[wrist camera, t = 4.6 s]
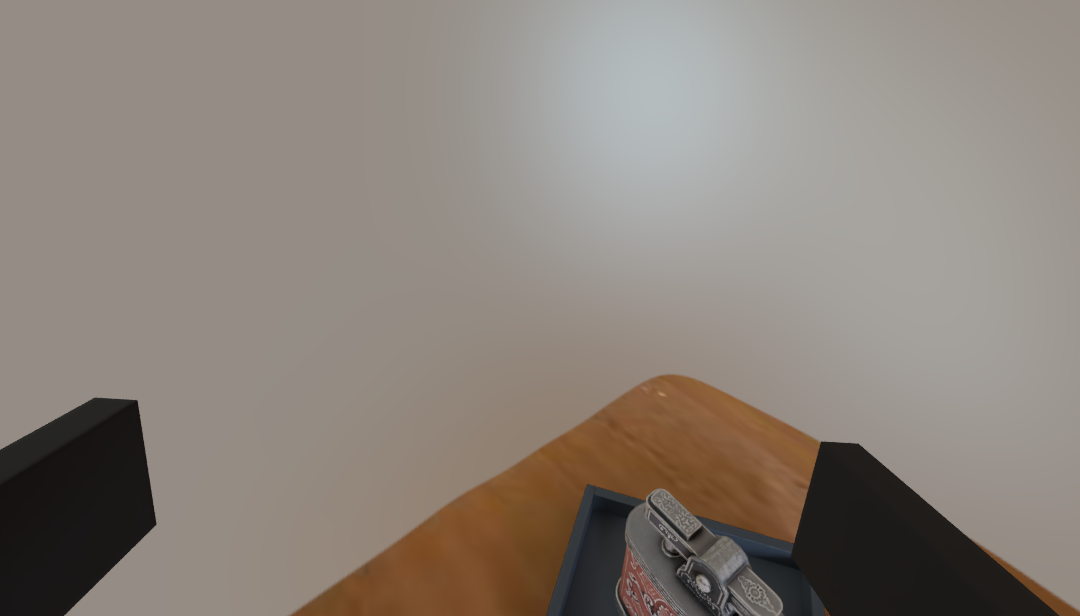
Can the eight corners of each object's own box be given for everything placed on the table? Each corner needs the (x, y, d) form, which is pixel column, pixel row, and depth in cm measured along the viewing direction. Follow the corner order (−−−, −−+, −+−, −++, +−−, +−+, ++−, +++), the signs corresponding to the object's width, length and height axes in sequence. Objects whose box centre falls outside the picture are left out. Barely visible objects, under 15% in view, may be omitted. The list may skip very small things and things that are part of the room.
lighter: (768, 699, 24) (841, 609, 18) (722, 756, 22) (785, 677, 16) (644, 562, 29) (667, 455, 23) (600, 599, 28) (612, 495, 21)
